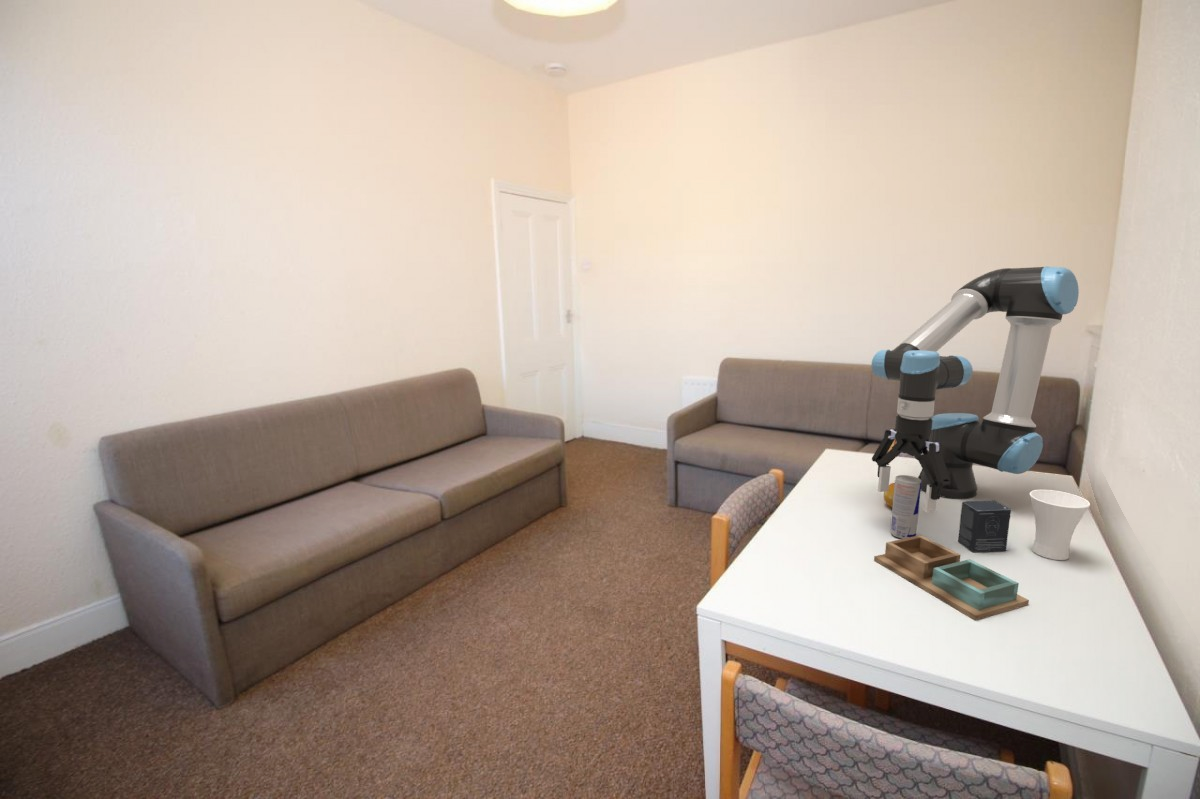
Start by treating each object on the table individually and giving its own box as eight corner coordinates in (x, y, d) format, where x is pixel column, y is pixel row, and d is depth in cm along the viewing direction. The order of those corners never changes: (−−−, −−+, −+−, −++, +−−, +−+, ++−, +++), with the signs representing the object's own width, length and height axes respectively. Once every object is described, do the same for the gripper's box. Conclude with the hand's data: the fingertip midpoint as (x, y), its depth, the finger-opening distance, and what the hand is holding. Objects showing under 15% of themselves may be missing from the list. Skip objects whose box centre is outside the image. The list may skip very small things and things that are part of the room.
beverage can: (919, 541, 132) (925, 483, 129) (894, 539, 133) (899, 482, 130) (911, 531, 137) (916, 474, 134) (887, 529, 138) (892, 473, 135)
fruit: (903, 491, 156) (896, 471, 153) (928, 504, 149) (921, 483, 145) (882, 508, 155) (874, 488, 152) (905, 522, 148) (898, 501, 144)
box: (989, 540, 131) (994, 499, 129) (1006, 552, 126) (1012, 509, 123) (956, 541, 131) (961, 500, 129) (972, 552, 126) (977, 510, 123)
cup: (1031, 561, 121) (1039, 504, 118) (1014, 540, 131) (1022, 487, 128) (1089, 568, 118) (1100, 510, 115) (1068, 546, 127) (1077, 492, 124)
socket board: (874, 560, 124) (875, 542, 123) (921, 549, 128) (923, 531, 127) (975, 620, 101) (978, 598, 100) (1028, 604, 106) (1031, 583, 105)
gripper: (861, 406, 139) (854, 485, 143) (950, 430, 116) (939, 523, 120) (884, 404, 141) (877, 481, 146) (976, 427, 118) (964, 518, 122)
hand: (905, 500), depth 133 cm, fingers open, 13 cm apart
